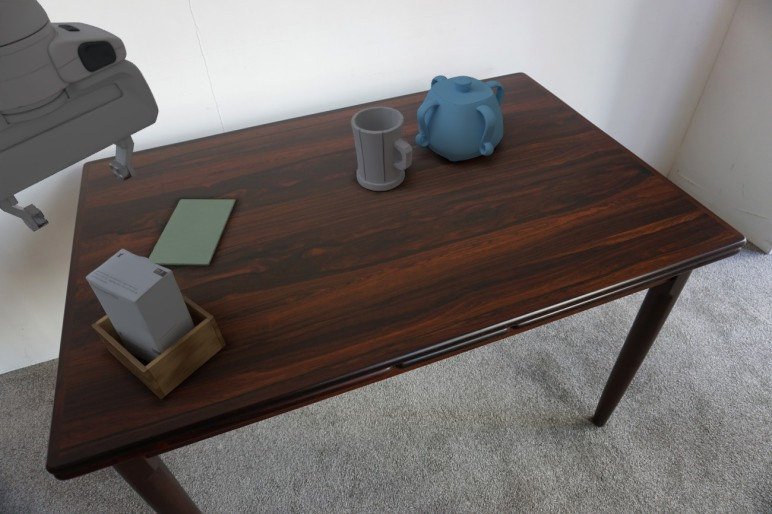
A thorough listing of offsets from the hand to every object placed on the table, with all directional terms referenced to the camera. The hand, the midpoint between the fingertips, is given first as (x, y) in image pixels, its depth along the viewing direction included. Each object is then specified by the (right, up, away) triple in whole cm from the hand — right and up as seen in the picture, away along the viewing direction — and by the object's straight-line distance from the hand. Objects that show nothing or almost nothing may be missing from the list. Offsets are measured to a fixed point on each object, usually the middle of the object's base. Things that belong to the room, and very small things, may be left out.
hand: (84, 200), depth 52 cm
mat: (-2, -1, +35) cm, 35 cm away
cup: (+30, +9, +43) cm, 53 cm away
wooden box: (+1, -18, +18) cm, 25 cm away
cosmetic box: (+1, -18, +18) cm, 26 cm away
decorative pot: (+44, +16, +50) cm, 69 cm away
